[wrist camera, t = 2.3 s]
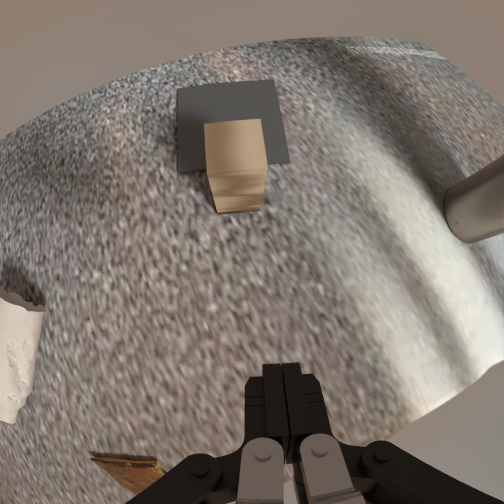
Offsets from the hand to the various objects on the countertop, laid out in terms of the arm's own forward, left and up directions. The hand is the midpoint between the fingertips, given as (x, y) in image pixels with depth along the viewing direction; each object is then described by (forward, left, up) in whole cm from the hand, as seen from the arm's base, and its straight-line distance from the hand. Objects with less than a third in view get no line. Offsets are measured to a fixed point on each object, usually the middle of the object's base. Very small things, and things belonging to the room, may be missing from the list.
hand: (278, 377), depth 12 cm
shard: (+18, +21, -23) cm, 36 cm away
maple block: (0, -16, -22) cm, 28 cm away
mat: (0, -27, -22) cm, 35 cm away
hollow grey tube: (+32, +3, -22) cm, 39 cm away
